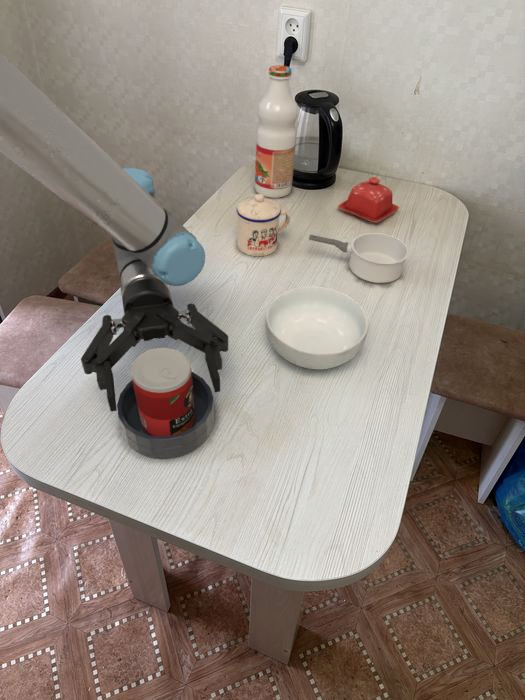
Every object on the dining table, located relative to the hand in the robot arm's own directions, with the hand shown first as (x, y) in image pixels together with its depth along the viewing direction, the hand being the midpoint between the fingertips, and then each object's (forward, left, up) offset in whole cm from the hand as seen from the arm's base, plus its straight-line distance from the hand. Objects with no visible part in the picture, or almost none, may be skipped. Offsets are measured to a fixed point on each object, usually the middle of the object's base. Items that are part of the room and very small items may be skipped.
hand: (166, 394), depth 65 cm
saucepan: (+31, +45, -9) cm, 55 cm away
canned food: (-1, +3, -9) cm, 10 cm away
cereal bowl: (+21, +20, -9) cm, 30 cm away
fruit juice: (+14, +78, -9) cm, 80 cm away
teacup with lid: (+12, +52, -9) cm, 54 cm away
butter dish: (+37, +69, -9) cm, 79 cm away
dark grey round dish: (-1, +3, -9) cm, 10 cm away
